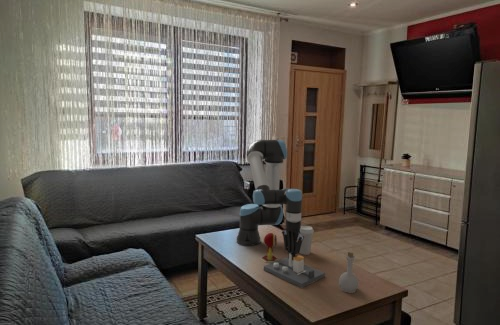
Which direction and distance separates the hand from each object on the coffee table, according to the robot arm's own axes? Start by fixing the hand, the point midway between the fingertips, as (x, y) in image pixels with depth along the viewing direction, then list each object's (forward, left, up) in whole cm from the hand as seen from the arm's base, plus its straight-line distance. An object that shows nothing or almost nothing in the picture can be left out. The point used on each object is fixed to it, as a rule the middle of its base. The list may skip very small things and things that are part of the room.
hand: (291, 265), depth 176 cm
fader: (+4, 0, -1) cm, 5 cm away
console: (+1, 0, -4) cm, 4 cm away
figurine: (-18, +3, -4) cm, 19 cm away
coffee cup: (-13, +26, -4) cm, 29 cm away
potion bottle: (+29, +7, -4) cm, 30 cm away
